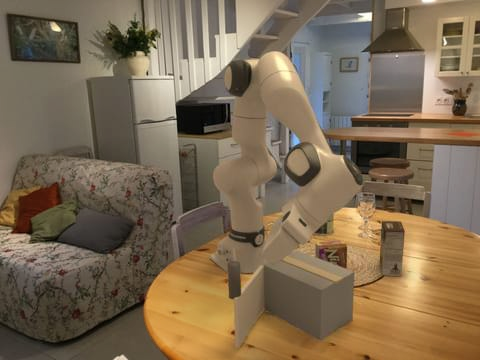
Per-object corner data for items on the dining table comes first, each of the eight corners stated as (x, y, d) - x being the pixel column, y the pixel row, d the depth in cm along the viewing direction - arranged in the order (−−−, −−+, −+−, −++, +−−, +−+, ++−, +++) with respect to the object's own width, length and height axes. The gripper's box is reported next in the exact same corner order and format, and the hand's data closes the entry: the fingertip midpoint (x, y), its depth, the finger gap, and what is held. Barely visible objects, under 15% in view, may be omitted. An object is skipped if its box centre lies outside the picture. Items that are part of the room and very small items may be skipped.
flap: (254, 306, 121) (252, 237, 116) (264, 308, 119) (263, 238, 114) (227, 345, 104) (224, 266, 98) (239, 347, 102) (236, 268, 97)
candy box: (342, 285, 133) (343, 239, 130) (346, 291, 129) (348, 245, 125) (314, 287, 132) (315, 241, 129) (318, 294, 128) (319, 247, 125)
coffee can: (315, 237, 173) (316, 204, 169) (304, 228, 182) (305, 197, 179) (338, 233, 176) (339, 201, 172) (326, 225, 185) (326, 195, 182)
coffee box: (378, 263, 147) (381, 220, 143) (398, 264, 146) (401, 221, 142) (381, 275, 139) (384, 229, 135) (402, 277, 137) (405, 230, 133)
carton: (263, 309, 120) (262, 263, 117) (296, 292, 129) (296, 249, 126) (321, 341, 106) (322, 289, 102) (353, 319, 115) (355, 271, 111)
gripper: (295, 193, 103) (257, 229, 108) (285, 222, 84) (239, 264, 88) (313, 211, 103) (274, 246, 108) (308, 244, 84) (261, 285, 88)
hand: (258, 255), depth 98 cm, fingers closed
